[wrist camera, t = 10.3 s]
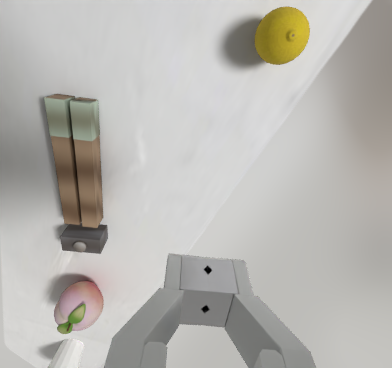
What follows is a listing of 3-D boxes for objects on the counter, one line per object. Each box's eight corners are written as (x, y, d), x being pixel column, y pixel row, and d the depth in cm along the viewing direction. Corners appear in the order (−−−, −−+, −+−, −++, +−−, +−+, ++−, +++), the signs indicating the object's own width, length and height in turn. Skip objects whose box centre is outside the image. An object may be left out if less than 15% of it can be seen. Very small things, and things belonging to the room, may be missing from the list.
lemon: (252, 68, 33) (268, 73, 26) (245, 20, 30) (260, 10, 23) (295, 56, 32) (323, 57, 25) (291, 5, 30) (321, -9, 23)
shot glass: (73, 333, 60) (59, 366, 54) (92, 347, 63) (81, 379, 57) (53, 342, 62) (37, 374, 56) (73, 355, 65) (60, 387, 59)
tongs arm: (103, 217, 44) (97, 228, 41) (89, 215, 44) (81, 226, 41) (98, 99, 34) (89, 103, 32) (79, 97, 34) (69, 101, 32)
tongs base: (52, 93, 34) (33, 99, 30) (99, 99, 35) (87, 105, 31) (72, 235, 46) (60, 252, 42) (107, 238, 46) (99, 256, 42)
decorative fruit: (100, 303, 55) (82, 351, 46) (64, 290, 53) (38, 338, 44) (117, 277, 51) (101, 324, 42) (78, 262, 49) (53, 309, 40)
